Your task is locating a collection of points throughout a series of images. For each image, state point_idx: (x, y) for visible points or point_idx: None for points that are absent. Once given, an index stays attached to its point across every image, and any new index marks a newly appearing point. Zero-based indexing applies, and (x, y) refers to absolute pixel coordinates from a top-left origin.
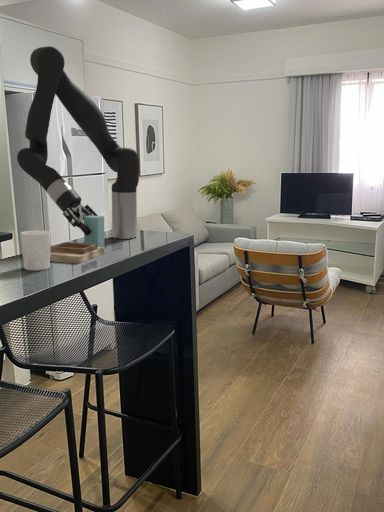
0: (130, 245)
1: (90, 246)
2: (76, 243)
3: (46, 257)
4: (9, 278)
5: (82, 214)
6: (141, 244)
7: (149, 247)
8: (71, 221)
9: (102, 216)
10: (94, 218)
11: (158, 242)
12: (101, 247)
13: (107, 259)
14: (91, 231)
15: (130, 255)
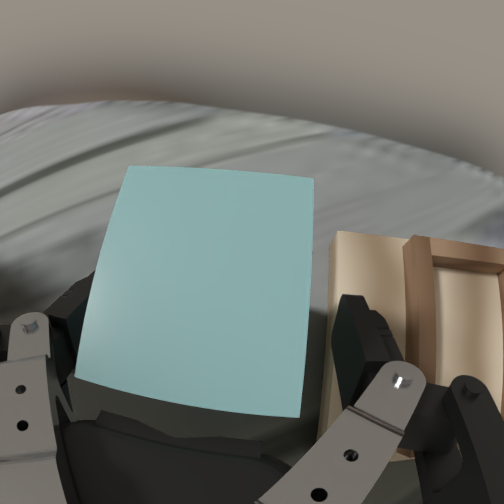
0: (85, 198)
1: (465, 249)
2: (429, 370)
3: None
4: None
5: (313, 446)
6: (65, 167)
7: (129, 121)
8: (450, 478)
9: (153, 172)
10: (309, 230)
11: (36, 134)
12: (345, 243)
13: (427, 195)
14: (343, 294)
15: (319, 135)
